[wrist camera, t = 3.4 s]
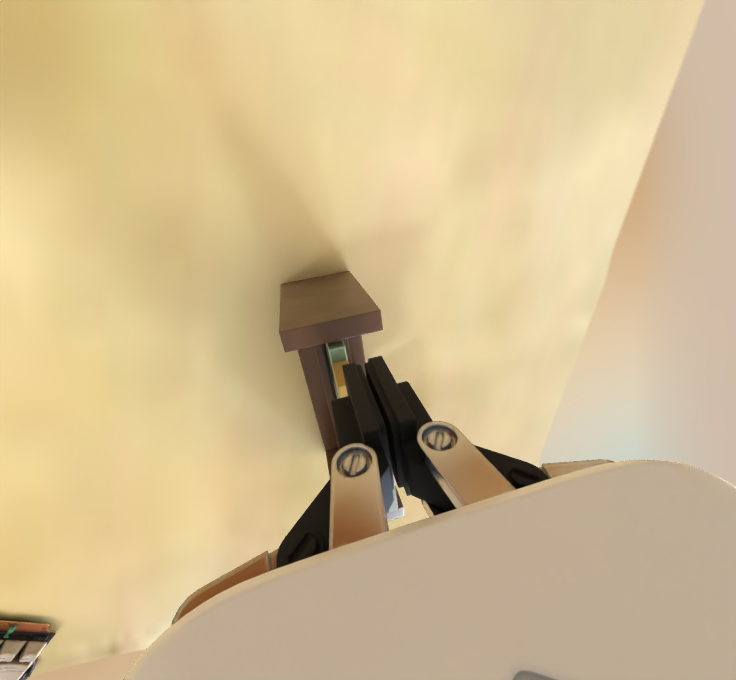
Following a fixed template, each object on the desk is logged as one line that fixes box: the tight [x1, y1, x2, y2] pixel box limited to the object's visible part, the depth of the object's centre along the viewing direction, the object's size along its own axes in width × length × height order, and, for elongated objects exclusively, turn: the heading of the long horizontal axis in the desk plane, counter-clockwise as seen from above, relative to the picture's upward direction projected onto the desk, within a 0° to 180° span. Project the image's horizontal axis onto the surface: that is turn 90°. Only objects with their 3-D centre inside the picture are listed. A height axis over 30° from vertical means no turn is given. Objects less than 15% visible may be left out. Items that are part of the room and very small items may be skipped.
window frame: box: [279, 271, 404, 521], centre depth 31 cm, size 7×24×12 cm, turn 8°
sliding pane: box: [325, 340, 349, 399], centre depth 26 cm, size 1×10×13 cm, turn 7°
